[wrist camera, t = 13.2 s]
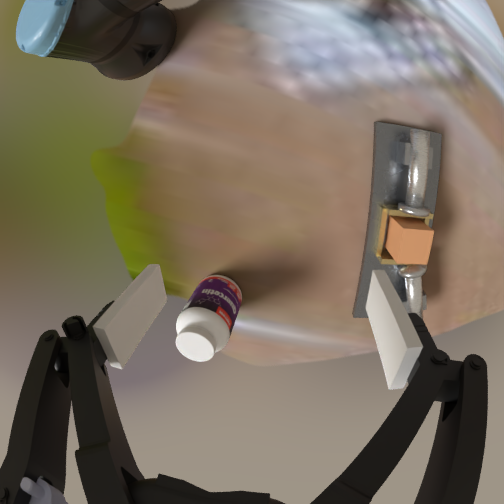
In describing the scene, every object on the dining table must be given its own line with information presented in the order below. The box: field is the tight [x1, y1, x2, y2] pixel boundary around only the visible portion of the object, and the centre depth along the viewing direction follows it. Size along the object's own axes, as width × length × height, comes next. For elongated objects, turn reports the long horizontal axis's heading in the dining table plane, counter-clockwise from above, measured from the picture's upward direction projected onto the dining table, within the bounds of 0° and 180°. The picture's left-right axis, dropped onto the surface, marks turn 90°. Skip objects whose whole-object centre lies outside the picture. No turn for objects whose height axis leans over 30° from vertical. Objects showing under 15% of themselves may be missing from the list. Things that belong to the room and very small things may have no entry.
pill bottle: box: [176, 275, 242, 362], centre depth 42 cm, size 8×8×14 cm
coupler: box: [385, 215, 434, 265], centre depth 35 cm, size 5×5×6 cm
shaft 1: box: [396, 129, 433, 217], centre depth 31 cm, size 11×5×6 cm, turn 1°
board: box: [352, 122, 442, 318], centre depth 37 cm, size 32×11×4 cm, turn 1°
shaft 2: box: [397, 264, 427, 320], centre depth 39 cm, size 11×5×6 cm, turn 21°
